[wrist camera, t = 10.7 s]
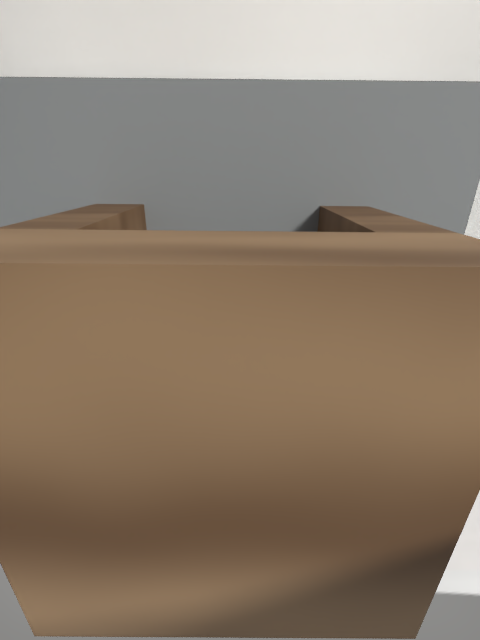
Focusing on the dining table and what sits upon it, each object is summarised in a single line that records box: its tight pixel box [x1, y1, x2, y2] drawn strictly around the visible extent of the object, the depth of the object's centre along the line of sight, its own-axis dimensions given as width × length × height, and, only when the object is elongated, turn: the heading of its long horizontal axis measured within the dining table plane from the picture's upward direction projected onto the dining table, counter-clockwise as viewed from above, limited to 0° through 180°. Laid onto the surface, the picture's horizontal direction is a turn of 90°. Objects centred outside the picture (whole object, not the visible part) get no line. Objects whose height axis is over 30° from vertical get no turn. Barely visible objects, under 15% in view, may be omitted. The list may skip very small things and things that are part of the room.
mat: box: [0, 77, 480, 235], centre depth 13 cm, size 16×16×1 cm
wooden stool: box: [0, 204, 480, 639], centre depth 9 cm, size 9×9×8 cm
